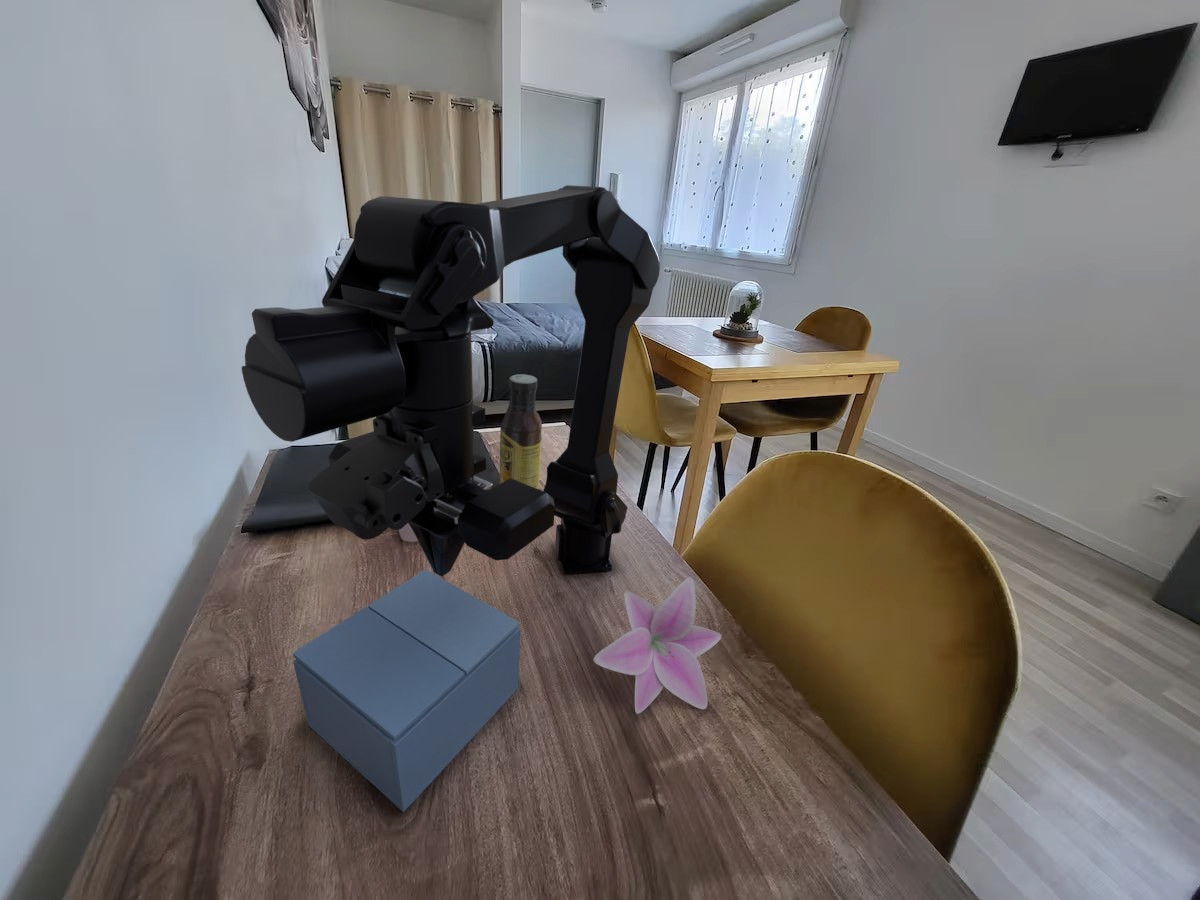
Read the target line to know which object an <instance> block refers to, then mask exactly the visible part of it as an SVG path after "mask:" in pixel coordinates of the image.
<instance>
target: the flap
mask: <svg viewBox="0 0 1200 900" xmlns="http://www.w3.org/2000/svg"><path fill="white" fill-rule="evenodd" d="M367 607H368V608H369V609H371V610H372V611H373V612H375V613H376V614H378V615H379V616H381V617H382V618H384V619H385V620H387V621H388V622H390V623H391V624H393V625H394V626H396V627H397V628H399V629H400V630H402V631H403V632H405V633H406V634H408V635H409V636H411V637H412V638H414V639H415V640H417V641H418V642H420V643H421V644H423V645H424V646H426V647H427V648H429V649H430V650H432V651H433V652H435V653H436V654H438V655H439V656H441V657H442V658H444V659H445V660H447V661H448V662H450V663H451V664H453V665H454V666H456V667H457V668H459V669H460V670H462V671H463V672H464V673H465V674H468V673H469V672H470V671H471V670H472V669H473V668H474V667H475V666H476V665H477V664H478V663H479V662H481V661H482V660H483V659H484V658H485V657H486V656H487V655H488V654H489V653H490V652H491V651H492V650H493V649H494V648H496V647H497V646H498V645H499V644H500V643H501V642H502V641H503V640H504V639H505V638H506V637H507V636H508V635H510V634H511V633H512V632H513V631H514V630H515V629H516V628H517V627H518V628H519V626H520V621H518V620H516V619H514V618H513V617H512V616H509V615H507V614H506V613H504V612H503V611H500V610H499V609H498V608H495V607H493V606H491V605H489V604H488V603H486V602H484V601H483V600H480V598H478V597H476V596H474V595H472V594H471V593H469V592H467V591H466V590H464V589H461V588H460V587H458V586H456V585H455V584H453V583H451V582H449V581H448V580H446V579H444V578H442V577H441V576H439V575H437V574H436V573H434V572H433V571H430V570H428V569H427V568H425V569H423V570H422V571H420V572H419V573H417V574H415V575H414V576H412V577H411V578H409V579H408V580H406V581H405V582H403V583H402V584H400V585H398V586H397V587H395V588H393V589H392V590H391V591H389V592H388V593H386V594H384V595H383V596H381V597H380V598H378V599H376V600H374V601H373V602H372V603H370V604H369V605H367Z"/></svg>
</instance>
